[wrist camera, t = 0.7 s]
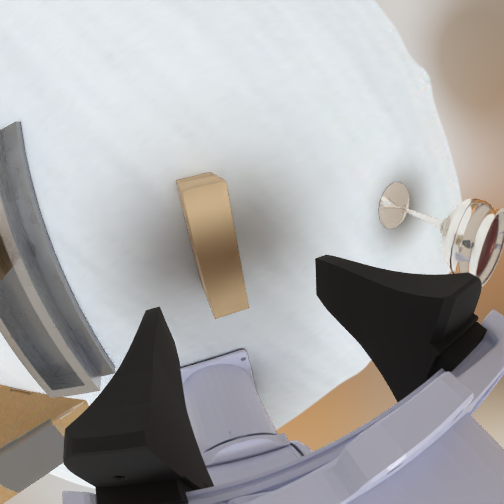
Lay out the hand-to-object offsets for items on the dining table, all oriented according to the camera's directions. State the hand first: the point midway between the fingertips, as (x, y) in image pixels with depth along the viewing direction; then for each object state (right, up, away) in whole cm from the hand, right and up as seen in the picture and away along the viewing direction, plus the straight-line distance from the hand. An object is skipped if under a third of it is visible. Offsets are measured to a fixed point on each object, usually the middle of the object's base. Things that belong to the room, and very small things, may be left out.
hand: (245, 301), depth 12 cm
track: (-18, 0, +4) cm, 18 cm away
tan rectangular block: (-3, +3, +8) cm, 9 cm away
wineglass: (+15, +7, +14) cm, 21 cm away
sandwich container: (-25, -17, +9) cm, 31 cm away
